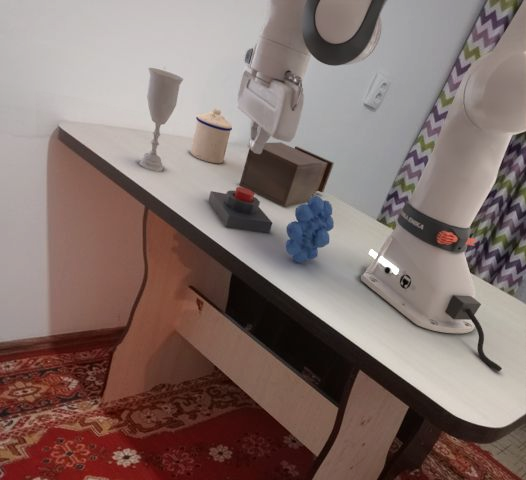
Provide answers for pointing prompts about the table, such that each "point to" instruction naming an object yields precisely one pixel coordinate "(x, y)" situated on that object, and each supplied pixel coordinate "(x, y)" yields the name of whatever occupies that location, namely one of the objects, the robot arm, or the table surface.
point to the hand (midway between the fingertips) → (254, 151)
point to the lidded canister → (211, 137)
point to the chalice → (160, 109)
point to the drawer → (324, 171)
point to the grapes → (309, 229)
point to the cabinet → (281, 174)
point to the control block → (239, 212)
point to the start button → (244, 194)
